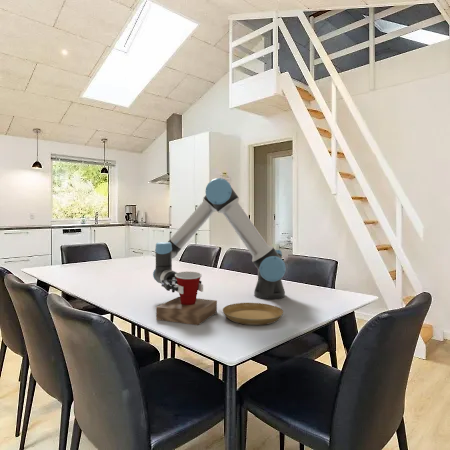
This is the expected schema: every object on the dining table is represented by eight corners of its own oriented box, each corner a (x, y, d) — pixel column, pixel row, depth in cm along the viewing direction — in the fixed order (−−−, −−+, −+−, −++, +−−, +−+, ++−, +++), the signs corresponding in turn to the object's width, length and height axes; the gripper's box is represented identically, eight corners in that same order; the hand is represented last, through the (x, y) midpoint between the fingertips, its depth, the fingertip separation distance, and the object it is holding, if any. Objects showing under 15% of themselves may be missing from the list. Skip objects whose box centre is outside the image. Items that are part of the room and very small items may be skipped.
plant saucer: (277, 309, 158) (277, 302, 158) (288, 327, 134) (289, 318, 134) (221, 309, 158) (221, 302, 157) (223, 328, 134) (223, 319, 133)
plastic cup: (177, 307, 141) (177, 276, 140) (173, 300, 151) (172, 272, 151) (204, 305, 144) (204, 275, 143) (198, 299, 154) (198, 270, 154)
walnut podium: (216, 312, 153) (216, 300, 153) (198, 325, 136) (198, 311, 136) (178, 307, 159) (178, 296, 159) (156, 319, 143) (156, 306, 142)
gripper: (192, 285, 168) (215, 295, 148) (148, 290, 158) (167, 302, 138) (192, 269, 168) (215, 277, 148) (148, 273, 158) (167, 282, 138)
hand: (192, 289), depth 143 cm, fingers closed on plastic cup, 8 cm apart
